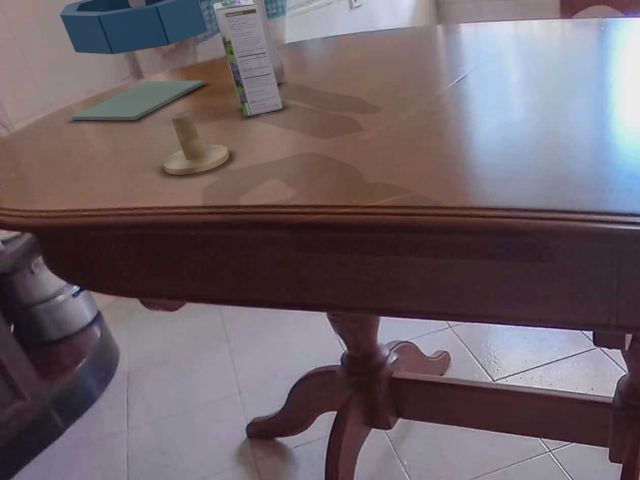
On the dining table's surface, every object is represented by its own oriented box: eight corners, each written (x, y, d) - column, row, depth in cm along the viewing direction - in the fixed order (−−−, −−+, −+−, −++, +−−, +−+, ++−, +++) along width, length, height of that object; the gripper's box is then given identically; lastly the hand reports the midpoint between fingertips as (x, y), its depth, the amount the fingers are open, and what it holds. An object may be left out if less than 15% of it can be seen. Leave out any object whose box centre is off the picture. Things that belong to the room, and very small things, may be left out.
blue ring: (71, 61, 76) (54, 22, 74) (84, 33, 87) (70, -2, 85) (208, 38, 79) (196, 0, 77) (204, 15, 91) (194, -20, 88)
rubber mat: (135, 120, 106) (133, 116, 106) (73, 120, 110) (71, 116, 109) (204, 83, 120) (203, 80, 119) (147, 84, 123) (146, 81, 123)
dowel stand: (164, 180, 85) (145, 131, 81) (165, 159, 91) (147, 112, 87) (231, 165, 87) (215, 117, 83) (227, 145, 93) (212, 99, 89)
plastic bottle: (294, 79, 117) (259, -59, 105) (277, 91, 111) (239, -52, 99) (258, 80, 118) (220, -55, 106) (240, 93, 113) (198, -48, 101)
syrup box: (241, 107, 106) (209, 3, 98) (279, 99, 108) (252, -4, 99) (245, 117, 102) (212, 9, 93) (285, 109, 103) (256, 1, 95)
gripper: (73, -126, 86) (118, -3, 94) (49, -125, 70) (106, 24, 78) (126, -133, 87) (167, -11, 96) (115, -132, 72) (164, 14, 80)
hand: (139, 5), depth 87 cm, fingers closed on blue ring, 2 cm apart
